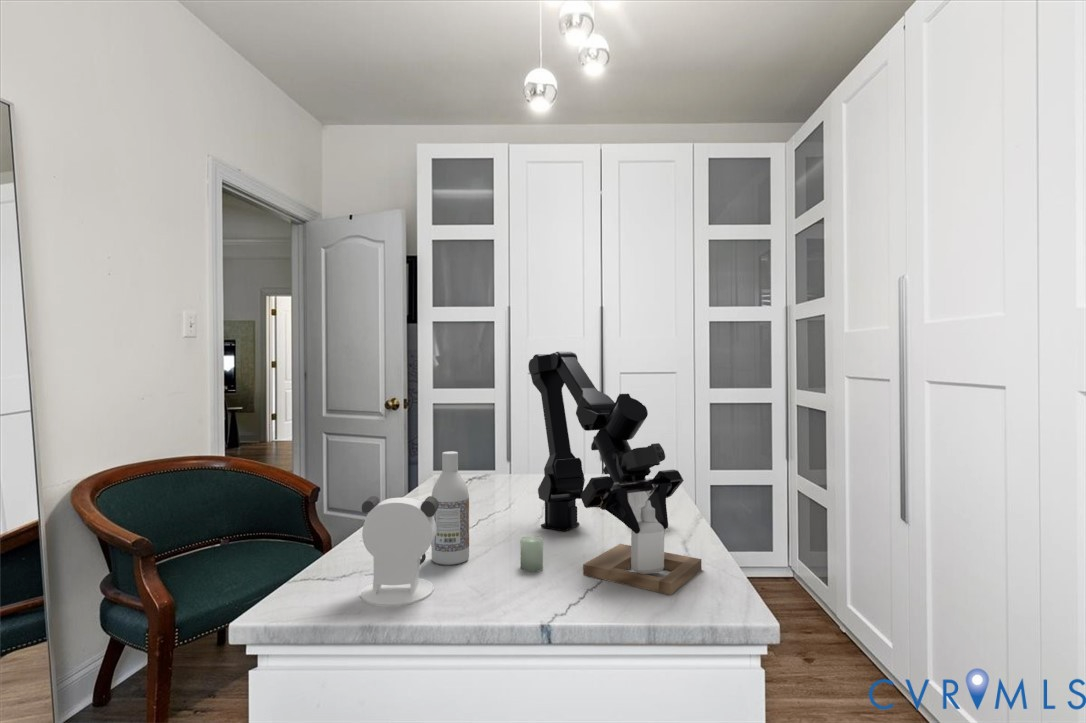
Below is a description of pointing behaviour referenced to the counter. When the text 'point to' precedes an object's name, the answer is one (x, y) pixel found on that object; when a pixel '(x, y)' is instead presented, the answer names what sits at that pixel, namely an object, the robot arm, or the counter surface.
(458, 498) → the bath foam
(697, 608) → the counter surface
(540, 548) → the pale green rounded cylinder
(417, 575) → the panda figurine
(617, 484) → the robot arm
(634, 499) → the white cup
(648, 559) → the eye dropper bottle
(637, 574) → the walnut square frame
